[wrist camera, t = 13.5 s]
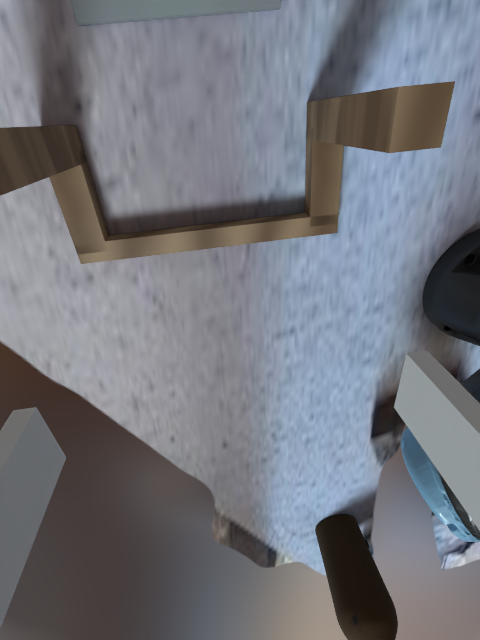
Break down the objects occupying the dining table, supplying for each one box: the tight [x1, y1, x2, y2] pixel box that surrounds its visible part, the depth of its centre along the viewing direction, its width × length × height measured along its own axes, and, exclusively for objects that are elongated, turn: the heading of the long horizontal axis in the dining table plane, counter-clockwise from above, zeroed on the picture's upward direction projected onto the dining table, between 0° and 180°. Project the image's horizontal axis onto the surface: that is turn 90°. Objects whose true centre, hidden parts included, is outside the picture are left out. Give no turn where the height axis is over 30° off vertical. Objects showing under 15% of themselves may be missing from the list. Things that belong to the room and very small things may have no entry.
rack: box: [0, 81, 455, 264], centre depth 26 cm, size 27×12×16 cm, turn 95°
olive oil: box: [315, 515, 398, 640], centre depth 62 cm, size 11×11×25 cm
